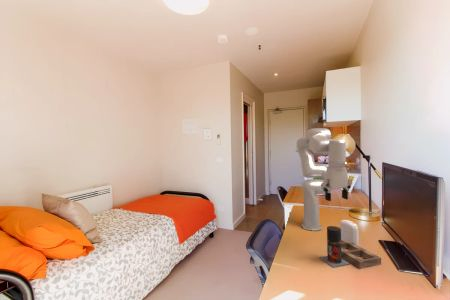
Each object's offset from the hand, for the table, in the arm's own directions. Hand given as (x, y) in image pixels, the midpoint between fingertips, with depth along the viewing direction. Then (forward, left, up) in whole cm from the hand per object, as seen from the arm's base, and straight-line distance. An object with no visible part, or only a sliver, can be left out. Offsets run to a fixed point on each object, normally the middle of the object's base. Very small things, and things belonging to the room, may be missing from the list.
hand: (336, 199), depth 109 cm
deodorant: (+4, -5, -27) cm, 28 cm away
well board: (+4, +6, -28) cm, 29 cm away
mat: (+4, -6, -28) cm, 29 cm away
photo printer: (-9, +16, -28) cm, 33 cm away
